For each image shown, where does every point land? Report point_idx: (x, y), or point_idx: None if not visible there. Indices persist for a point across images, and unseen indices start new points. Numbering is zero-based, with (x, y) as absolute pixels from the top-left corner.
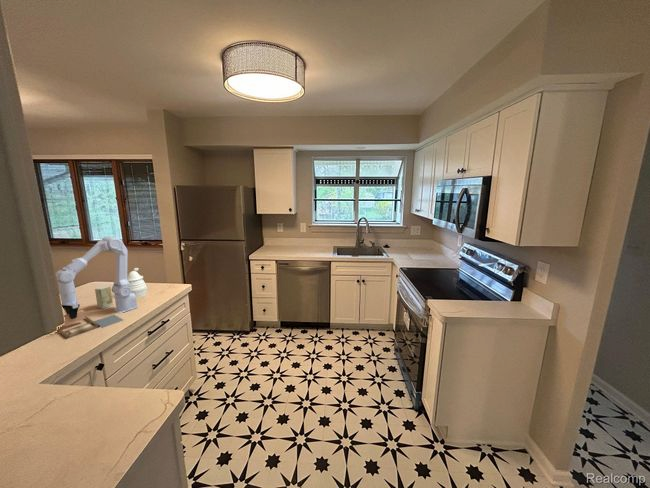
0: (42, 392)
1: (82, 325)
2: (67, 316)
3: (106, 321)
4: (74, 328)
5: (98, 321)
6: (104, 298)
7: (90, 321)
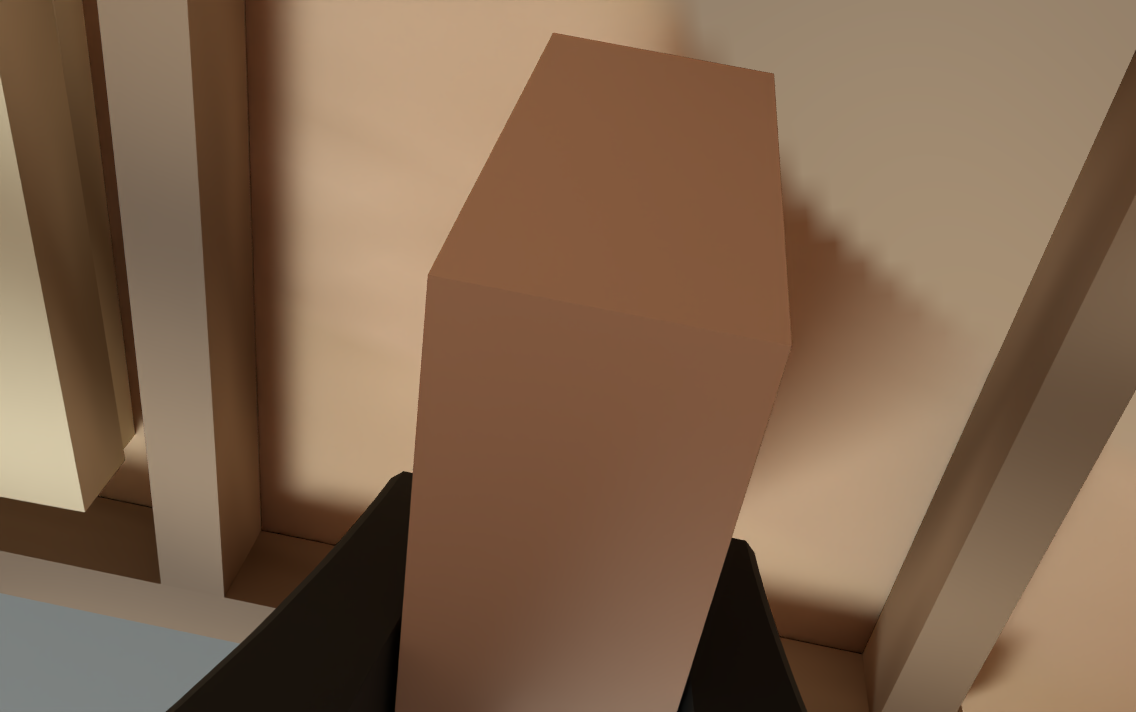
0: None
1: (162, 389)
2: (419, 534)
3: (86, 708)
4: (116, 159)
5: None
6: None
7: None
